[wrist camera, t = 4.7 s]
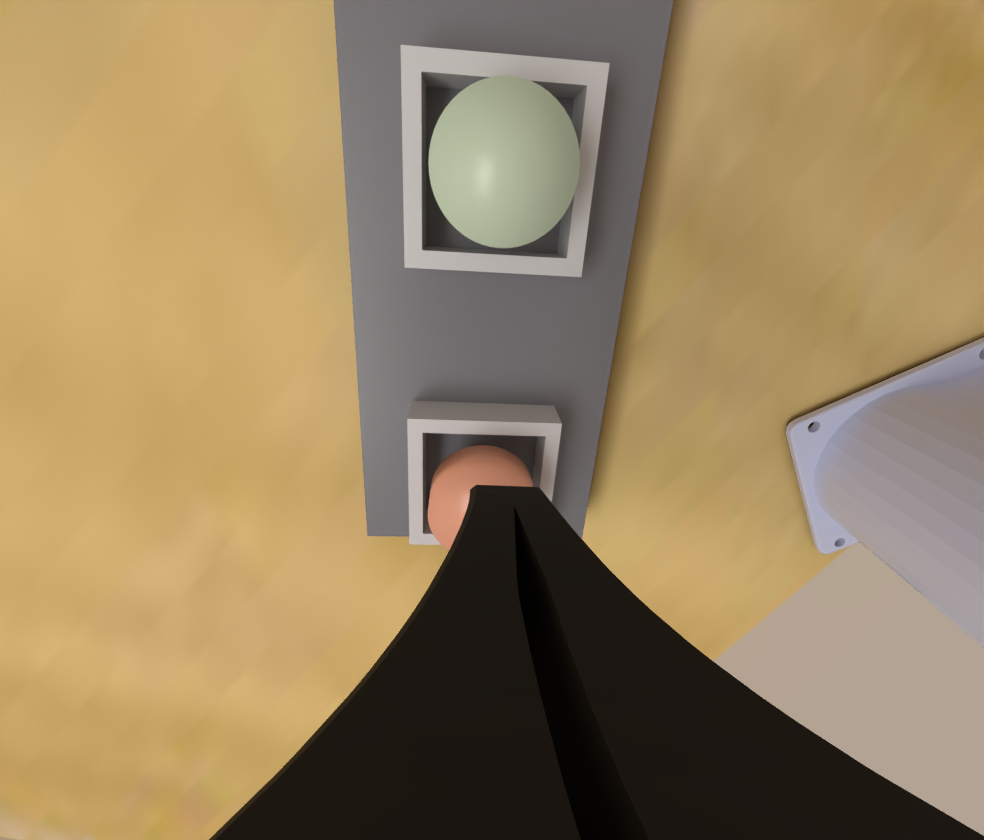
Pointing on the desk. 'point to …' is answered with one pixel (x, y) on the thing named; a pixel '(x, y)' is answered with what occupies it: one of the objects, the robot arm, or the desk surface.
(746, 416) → the desk surface
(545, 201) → the sage button
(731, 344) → the desk surface
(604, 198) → the button panel
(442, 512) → the terracotta button
